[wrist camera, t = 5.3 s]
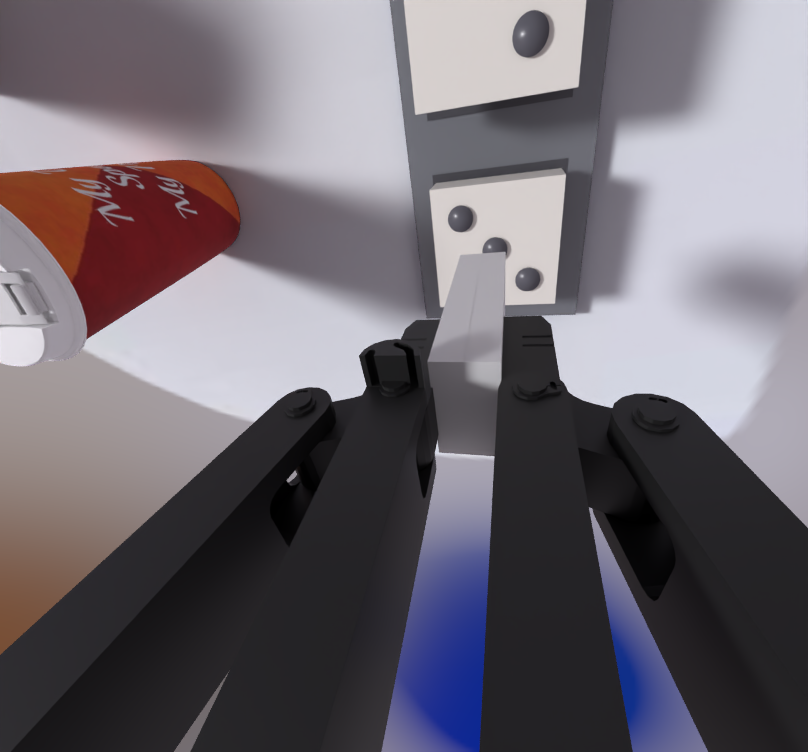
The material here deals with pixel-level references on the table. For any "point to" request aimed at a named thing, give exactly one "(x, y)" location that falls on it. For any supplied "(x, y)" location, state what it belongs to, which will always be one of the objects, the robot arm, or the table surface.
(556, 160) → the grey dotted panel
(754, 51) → the table surface
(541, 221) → the tile
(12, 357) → the paper cup
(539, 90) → the tile
